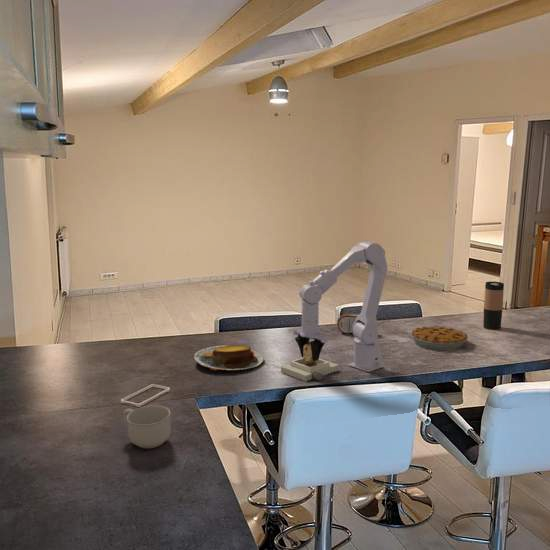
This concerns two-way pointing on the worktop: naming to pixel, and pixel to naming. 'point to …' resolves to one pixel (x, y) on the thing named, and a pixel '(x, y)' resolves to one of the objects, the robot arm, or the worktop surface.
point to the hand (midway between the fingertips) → (309, 358)
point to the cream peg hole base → (309, 369)
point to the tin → (346, 322)
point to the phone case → (144, 390)
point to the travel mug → (493, 305)
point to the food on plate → (228, 357)
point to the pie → (439, 338)
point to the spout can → (308, 355)
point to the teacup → (148, 425)
